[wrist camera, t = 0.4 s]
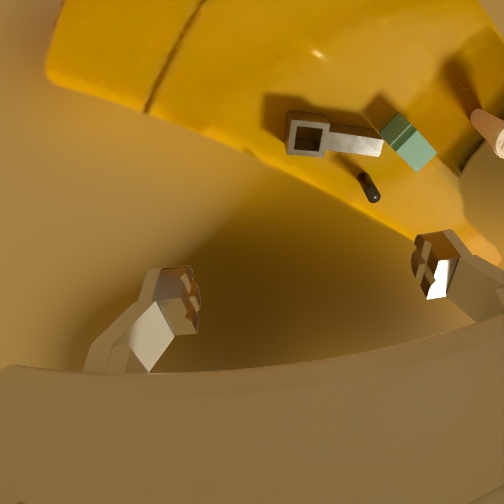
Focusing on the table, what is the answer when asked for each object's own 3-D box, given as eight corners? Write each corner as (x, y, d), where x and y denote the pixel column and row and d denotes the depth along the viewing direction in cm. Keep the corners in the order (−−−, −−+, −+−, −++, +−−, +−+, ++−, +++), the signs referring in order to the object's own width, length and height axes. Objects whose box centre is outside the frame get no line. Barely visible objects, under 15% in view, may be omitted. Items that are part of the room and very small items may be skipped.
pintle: (359, 172, 50) (370, 191, 46) (370, 173, 50) (382, 192, 46) (356, 182, 52) (366, 202, 48) (367, 183, 52) (378, 203, 48)
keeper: (403, 157, 48) (416, 172, 44) (379, 133, 45) (391, 147, 41) (422, 138, 45) (437, 152, 41) (398, 112, 42) (413, 125, 38)
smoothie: (493, 116, 40) (540, 153, 30) (475, 138, 44) (519, 180, 34) (477, 95, 37) (528, 130, 28) (459, 119, 41) (505, 159, 31)
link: (283, 143, 47) (286, 154, 44) (287, 110, 43) (291, 119, 40) (369, 152, 48) (377, 163, 45) (376, 122, 44) (386, 132, 41)
